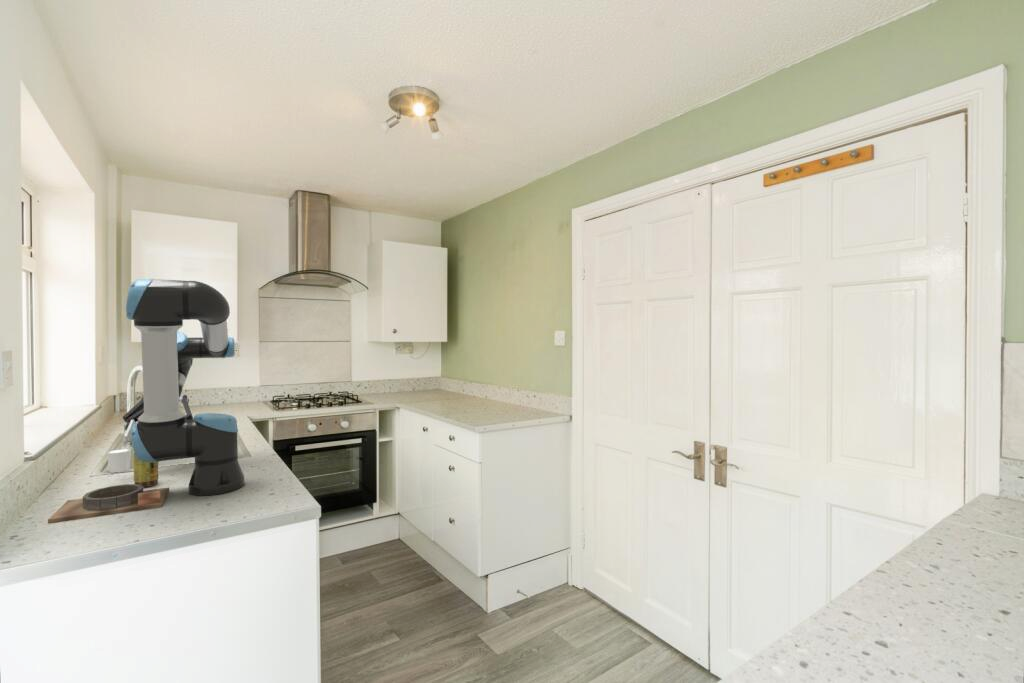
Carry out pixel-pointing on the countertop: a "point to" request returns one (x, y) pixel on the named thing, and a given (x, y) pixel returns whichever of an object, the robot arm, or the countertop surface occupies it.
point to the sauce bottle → (145, 473)
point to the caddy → (110, 502)
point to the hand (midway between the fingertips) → (150, 437)
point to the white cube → (119, 460)
